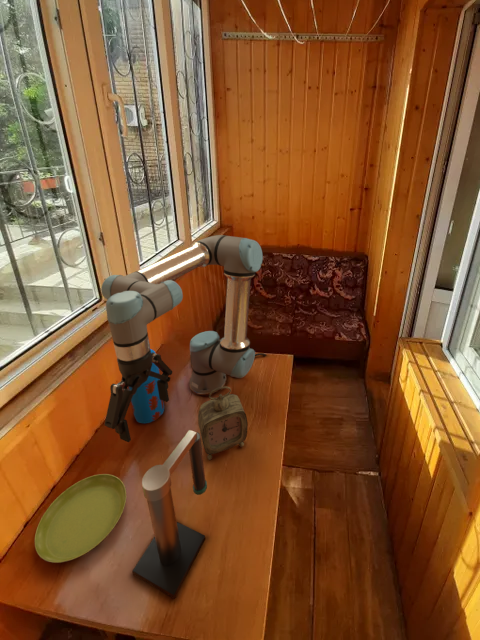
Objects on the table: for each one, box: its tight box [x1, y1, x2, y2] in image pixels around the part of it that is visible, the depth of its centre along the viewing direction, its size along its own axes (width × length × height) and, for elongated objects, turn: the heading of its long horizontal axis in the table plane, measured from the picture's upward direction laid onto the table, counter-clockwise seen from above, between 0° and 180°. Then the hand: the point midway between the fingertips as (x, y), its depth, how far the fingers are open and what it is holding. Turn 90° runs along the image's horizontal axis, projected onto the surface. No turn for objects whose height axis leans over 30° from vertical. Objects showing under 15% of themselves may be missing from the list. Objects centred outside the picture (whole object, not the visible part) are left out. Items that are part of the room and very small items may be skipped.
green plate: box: [34, 473, 127, 564], centre depth 83 cm, size 21×21×3 cm
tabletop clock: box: [197, 385, 249, 461], centre depth 101 cm, size 14×9×25 cm, turn 115°
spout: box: [141, 429, 208, 501], centre depth 76 cm, size 18×6×22 cm, turn 160°
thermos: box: [128, 348, 165, 424], centre depth 114 cm, size 11×11×25 cm
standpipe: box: [132, 488, 206, 600], centre depth 73 cm, size 12×12×24 cm
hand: (146, 418), depth 83 cm, fingers open, 13 cm apart
